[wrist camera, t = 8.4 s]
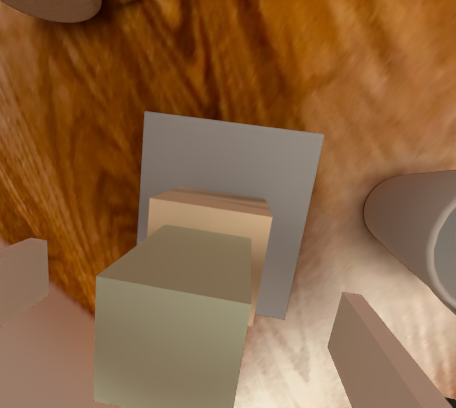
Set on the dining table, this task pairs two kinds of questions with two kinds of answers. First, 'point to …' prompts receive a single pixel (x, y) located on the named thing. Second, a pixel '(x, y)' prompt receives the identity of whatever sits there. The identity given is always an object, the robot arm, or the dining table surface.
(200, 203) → the base block
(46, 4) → the ceramic mug
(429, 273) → the cup
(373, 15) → the dining table surface
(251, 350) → the dining table surface
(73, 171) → the dining table surface
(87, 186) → the dining table surface
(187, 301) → the sage block
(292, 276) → the board
